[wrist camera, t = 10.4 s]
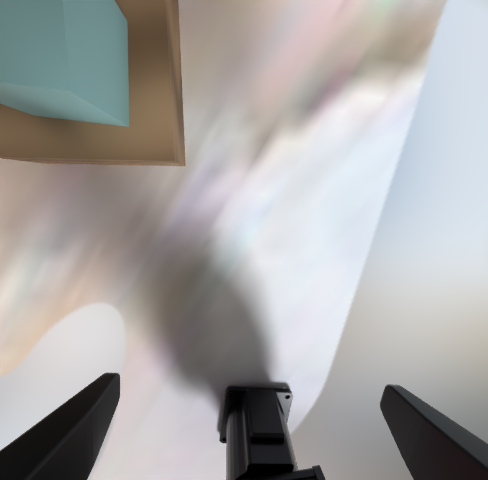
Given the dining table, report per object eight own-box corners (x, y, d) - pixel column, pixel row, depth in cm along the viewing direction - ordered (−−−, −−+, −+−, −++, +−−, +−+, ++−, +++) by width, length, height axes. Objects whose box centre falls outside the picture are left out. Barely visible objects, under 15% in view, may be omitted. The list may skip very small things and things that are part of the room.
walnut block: (186, 166, 17) (174, 161, 13) (47, 163, 16) (-9, 157, 13) (179, 7, 15) (162, -57, 11) (16, -5, 14) (-64, -77, 10)
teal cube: (129, 127, 13) (69, 91, 8) (33, 115, 12) (-94, 69, 7) (127, 21, 12) (55, -98, 7) (21, 4, 11) (-138, -137, 6)
